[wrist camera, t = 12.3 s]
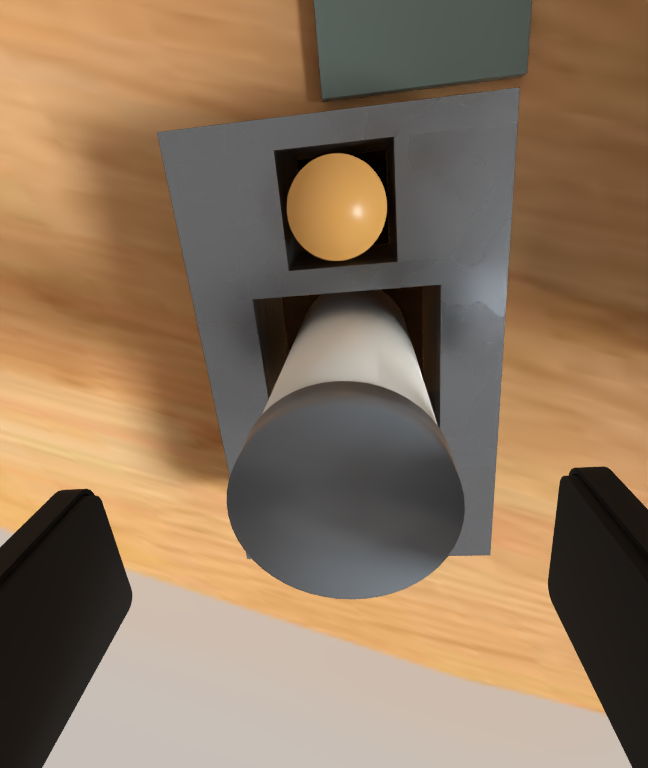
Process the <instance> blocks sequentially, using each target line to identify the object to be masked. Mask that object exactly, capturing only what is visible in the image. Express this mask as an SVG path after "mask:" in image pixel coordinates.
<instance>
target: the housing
mask: <svg viewBox="0 0 648 768" xmlns="http://www.w3.org/2000/svg"><path fill="white" fill-rule="evenodd" d="M519 95H520V87H519V88H511V89H503V90H495V91H487V92H479V93H471V94H463V95H454V96H446V97H438V98H430V99H422V100H414V101H406V102H398V103H390V104H382V105H374V106H365V107H357V108H349V109H341V110H333V111H325V112H317V113H309V114H301V115H293V116H285V117H276V118H268V119H260V120H252V121H244V122H236V123H228V124H220V125H212V126H204V127H196V128H187V129H179V130H171V131H163V132H157V135H158V140H159V145H160V149H161V154H162V159H163V163H164V168H165V173H166V178H167V182H168V187H169V192H170V196H171V201H172V206H173V211H174V215H175V220H176V225H177V229H178V234H179V239H180V244H181V248H182V253H183V258H184V262H185V267H186V272H187V277H188V281H189V286H190V291H191V295H192V300H193V305H194V310H195V314H196V319H197V324H198V328H199V333H200V338H201V343H202V347H203V352H204V357H205V361H206V366H207V371H208V376H209V380H210V385H211V390H212V394H213V399H214V404H215V409H216V413H217V418H218V423H219V427H220V432H221V437H222V442H223V446H224V451H225V456H226V460H227V465H228V470H229V475H231V472H232V470H233V467H234V465H235V462H236V460H237V458H238V456H239V454H240V452H241V449H242V447H243V445H244V443H245V441H246V439H247V436H248V435H249V433H250V431H251V429H252V427H253V425H254V424H255V423H256V421H257V420H258V419H259V417H260V416H261V415H262V414H263V411H264V409H265V407H266V405H267V402H268V400H269V398H270V396H271V393H272V391H273V389H274V386H275V384H276V382H277V380H278V377H279V375H280V373H281V371H282V368H283V366H284V364H285V362H286V359H287V357H288V355H289V347H288V339H287V332H286V324H285V317H284V309H283V302H282V297H290V296H302V295H315V294H328V293H340V292H353V291H366V290H378V289H391V288H404V287H416V286H422V331H423V381H424V384H425V387H426V390H427V393H428V397H429V400H430V403H431V406H432V409H433V413H434V416H435V419H436V422H437V425H438V427H439V428H440V430H441V432H442V433H443V435H444V437H445V438H446V441H447V443H448V446H449V448H450V451H451V454H452V457H453V460H454V463H455V466H456V469H457V472H458V475H459V478H460V481H461V484H462V489H463V494H464V502H465V514H464V522H463V526H462V529H461V533H460V536H459V538H458V540H457V542H456V544H455V546H454V548H453V549H452V551H451V552H450V554H449V555H448V556H472V555H490V550H491V535H492V519H493V503H494V488H495V472H496V456H497V441H498V425H499V409H500V393H501V378H502V362H503V346H504V331H505V315H506V299H507V283H508V268H509V252H510V236H511V221H512V205H513V189H514V174H515V158H516V142H517V126H518V111H519ZM380 150H386V172H387V199H388V226H389V243H385V244H374V245H372V246H371V247H370V248H369V249H367V250H366V251H365V252H363V253H362V254H360V255H358V256H356V257H354V258H351V259H348V260H342V261H331V260H325V259H322V258H319V257H317V256H315V255H313V254H311V253H310V252H308V251H307V250H306V249H305V248H304V247H303V246H301V244H300V243H299V242H298V241H297V239H296V238H295V236H294V234H293V232H292V230H291V228H290V225H289V222H288V217H287V198H288V193H289V190H290V187H291V185H292V183H293V180H294V179H295V177H296V176H297V174H298V164H297V160H300V159H309V158H317V157H320V156H323V155H327V154H333V153H341V154H353V153H362V152H371V151H380ZM246 555H247V559H252V558H251V557H250V556H249V555H248V554H247V552H246Z"/></svg>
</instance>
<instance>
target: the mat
mask: <svg viewBox="0 0 648 768" xmlns="http://www.w3.org/2000/svg"><path fill="white" fill-rule="evenodd" d="M531 7H532V0H314V9H315V21H316V33H317V45H318V57H319V69H320V81H321V93H322V100H323V102H326V101H334V100H342V99H350V98H358V97H366V96H374V95H382V94H390V93H398V92H406V91H414V90H422V89H430V88H438V87H445V86H453V85H461V84H469V83H477V82H485V81H493V80H501V79H509V78H517V77H522V76H523V75H525V74H526V73H527V66H528V51H529V36H530V22H531Z"/></svg>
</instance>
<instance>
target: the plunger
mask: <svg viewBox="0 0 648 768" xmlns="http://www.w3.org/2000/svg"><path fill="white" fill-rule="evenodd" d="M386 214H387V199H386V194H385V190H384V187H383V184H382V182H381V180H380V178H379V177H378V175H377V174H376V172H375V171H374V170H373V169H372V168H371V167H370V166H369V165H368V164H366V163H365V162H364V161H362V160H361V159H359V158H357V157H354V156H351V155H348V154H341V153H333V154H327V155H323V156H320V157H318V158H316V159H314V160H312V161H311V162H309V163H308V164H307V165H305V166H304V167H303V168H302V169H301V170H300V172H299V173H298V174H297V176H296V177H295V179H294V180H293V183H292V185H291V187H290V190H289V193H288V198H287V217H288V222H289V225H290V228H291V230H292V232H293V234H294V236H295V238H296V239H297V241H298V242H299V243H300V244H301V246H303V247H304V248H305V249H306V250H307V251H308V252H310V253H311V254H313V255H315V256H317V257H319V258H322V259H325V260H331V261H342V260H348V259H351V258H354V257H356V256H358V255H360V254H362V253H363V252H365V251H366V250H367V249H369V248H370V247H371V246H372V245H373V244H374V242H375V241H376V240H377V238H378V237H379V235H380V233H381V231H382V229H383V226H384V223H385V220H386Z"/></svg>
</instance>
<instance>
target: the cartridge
mask: <svg viewBox="0 0 648 768" xmlns="http://www.w3.org/2000/svg"><path fill="white" fill-rule="evenodd" d="M227 509H228V516H229V519H230V522H231V526H232V529H233V531H234V533H235V535H236V537H237V539H238V541H239V542H240V544H241V545H242V547H243V549H244V550H245V551H246V552H247V554H248V555H249V556H250V557H251V558H252V559H253V560H254V561H255V562H256V563H257V564H258V565H259V566H260V567H261V568H262V569H264V570H265V571H266V572H268V573H269V574H270V575H272V576H273V577H275V578H276V579H278V580H280V581H281V582H283V583H285V584H287V585H289V586H292V587H294V588H296V589H298V590H301V591H304V592H307V593H310V594H314V595H319V596H323V597H329V598H336V599H366V598H373V597H379V596H383V595H387V594H391V593H394V592H397V591H400V590H403V589H405V588H407V587H409V586H411V585H413V584H415V583H417V582H419V581H421V580H422V579H424V578H425V577H427V576H428V575H429V574H431V573H432V572H433V571H434V570H435V569H436V568H438V567H439V566H440V565H441V564H442V562H443V561H444V560H445V559H446V558H447V557H448V555H449V554H450V552H451V551H452V549H453V548H454V546H455V544H456V542H457V540H458V538H459V536H460V533H461V529H462V526H463V522H464V514H465V502H464V494H463V489H462V484H461V481H460V478H459V475H458V472H457V469H456V466H455V463H454V460H453V457H452V454H451V451H450V448H449V446H448V443H447V441H446V438H445V437H444V435H443V433H442V432H441V430H440V428H439V427H438V425H437V422H436V419H435V416H434V413H433V409H432V406H431V403H430V400H429V397H428V393H427V390H426V387H425V384H424V381H423V377H422V374H421V371H420V368H419V365H418V361H417V358H416V355H415V352H414V349H413V345H412V342H411V339H410V336H409V333H408V329H407V326H406V323H405V320H404V317H403V314H402V312H401V310H400V308H399V307H398V305H397V304H396V303H395V301H394V300H393V299H392V298H391V297H390V296H389V295H387V294H386V293H385V292H383V291H382V290H380V289H378V290H366V291H353V292H340V293H328V294H322V295H320V296H319V297H318V298H317V299H316V300H315V301H314V302H313V304H312V305H311V307H310V308H309V310H308V312H307V314H306V316H305V318H304V321H303V323H302V325H301V328H300V330H299V332H298V334H297V337H296V339H295V341H294V343H293V346H292V348H291V350H290V352H289V355H288V357H287V359H286V362H285V364H284V366H283V368H282V371H281V373H280V375H279V377H278V380H277V382H276V384H275V386H274V389H273V391H272V393H271V396H270V398H269V400H268V402H267V405H266V407H265V409H264V411H263V414H262V415H261V416H260V417H259V419H258V420H257V421H256V423H255V424H254V425H253V427H252V429H251V431H250V433H249V435H248V436H247V439H246V441H245V443H244V445H243V447H242V449H241V452H240V454H239V456H238V458H237V460H236V462H235V465H234V467H233V470H232V472H231V475H230V478H229V483H228V488H227Z"/></svg>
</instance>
